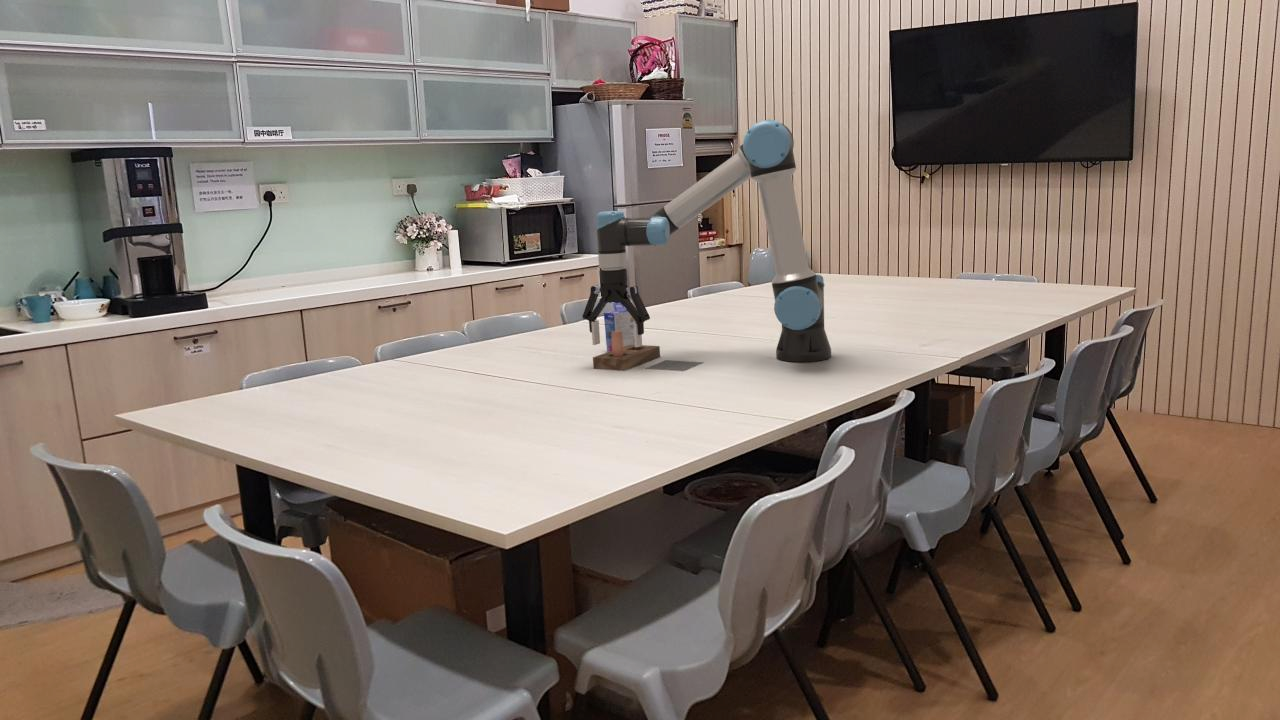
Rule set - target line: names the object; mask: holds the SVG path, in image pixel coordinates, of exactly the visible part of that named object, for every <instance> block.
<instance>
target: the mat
mask: <svg viewBox="0 0 1280 720" xmlns="http://www.w3.org/2000/svg"><path fill="white" fill-rule="evenodd" d="M701 364H704V362H703V361H688V360H687V361H686V360H685V361H684V360H671V359H669V360H667V359H664V360H663V361H660V362H657V363H655V364H652V365H649V366H648V367H645V368H644V369H645V370H660V371H662V370H663V371H676V372H686V371H688V370H690V369H692V368H695V367H697V366H700V365H701Z"/></svg>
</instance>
